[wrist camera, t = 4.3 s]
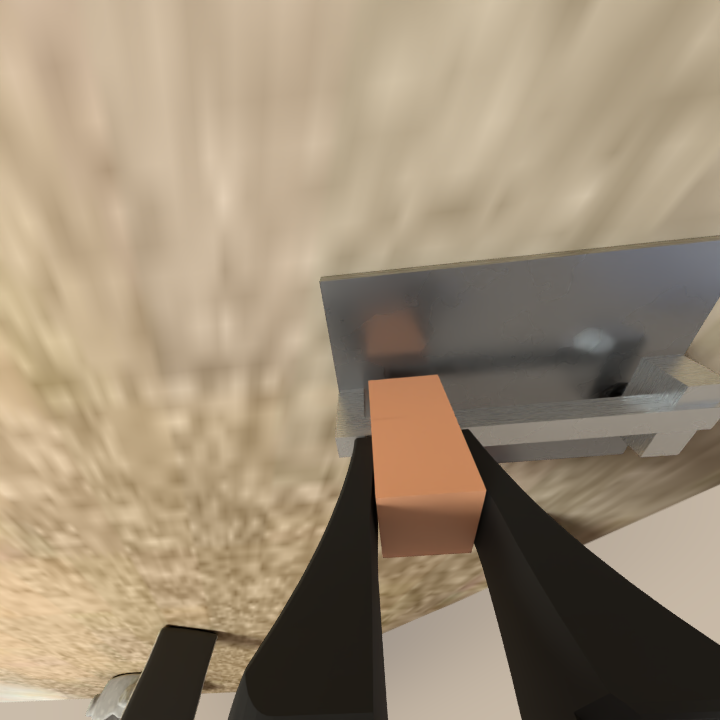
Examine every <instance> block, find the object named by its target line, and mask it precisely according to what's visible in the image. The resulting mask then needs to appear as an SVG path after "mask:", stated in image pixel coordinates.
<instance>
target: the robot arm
mask: <svg viewBox="0 0 720 720" xmlns="http://www.w3.org/2000/svg"><path fill="white" fill-rule="evenodd" d="M461 431H462V433H463V436H464V438H465V440H466V443H467V445H468V448H469V450H470V452H471V455H472V457H473V459H474V462H475V464H476V467H477V469H478V471H479V474H480V476H481V479H482V481H483V483H484V486H485V488H486V490H487V491H486V495H485V499H484V503H483V507H482V511H481V515H480V519H479V523H478V527H477V531H476V536H475V540H474V544H475V547H476V549H477V552H478V555H479V558H480V561H481V564H482V567H483V570H484V574H485V578H486V581H487V585H488V588H489V592H490V595H491V599H492V602H493V606H494V610H495V614H496V618H497V621H498V625H499V629H500V633H501V636H502V640H503V644H504V648H505V652H506V656H507V660H508V664H509V668H510V672H511V676H512V680H513V684H514V689H515V693H516V697H517V701H518V706H519V710H520V714H521V718H522V720H720V645H719V644H717V643H716V642H714V641H713V640H711V639H710V638H708V637H707V636H705V635H704V634H703V633H701V632H699V631H698V630H697V629H695V628H694V627H692V626H691V625H689V624H688V623H686V622H685V621H683V620H682V619H681V618H679V617H677V616H676V615H675V614H673V613H672V612H671V611H669V610H668V609H666V608H665V607H663V606H662V605H661V604H659V603H658V602H657V601H655V600H653V599H652V598H651V597H650V596H648V595H647V594H646V593H644V592H643V591H641V590H640V589H639V588H637V587H636V586H635V585H633V584H632V583H630V582H629V581H628V580H627V579H625V578H624V577H623V576H622V575H620V574H619V573H618V572H616V571H615V570H614V569H613V568H611V567H610V566H609V565H607V564H606V563H605V562H603V561H602V560H601V559H600V558H599V557H597V556H596V555H595V554H593V553H592V552H591V551H590V550H588V549H587V548H586V547H585V546H584V545H582V544H581V543H580V542H579V541H578V540H577V539H575V538H574V537H573V536H572V535H571V534H569V533H568V532H567V531H566V530H565V529H564V528H563V527H561V526H560V525H559V524H558V523H557V522H556V521H555V520H554V519H552V518H551V517H550V516H549V515H548V514H547V513H546V512H545V511H544V510H543V509H542V508H541V507H540V506H539V505H538V504H536V503H535V502H534V501H533V500H532V499H531V498H530V497H529V496H528V495H527V494H526V493H525V492H524V491H523V490H522V489H521V488H520V487H519V486H518V485H517V483H516V482H515V481H514V480H513V479H512V478H511V477H510V476H509V475H508V474H507V473H506V472H505V471H504V470H503V469H502V467H501V466H500V465H499V464H498V463H497V462H496V461H495V460H494V458H493V457H492V456H491V455H490V454H489V453H488V452H487V450H486V449H485V448H484V447H483V446H482V444H481V443H480V442H479V441H478V440H477V438H476V437H475V436H474V435H473V433H472V432H471V431H470V430H469V429H462V430H461ZM228 720H388V714H387V702H386V686H385V672H384V657H383V642H382V627H381V612H380V597H379V581H378V513H377V505H376V496H375V480H374V464H373V448H372V437H362V438H356V439H355V440H354V448H353V453H352V457H351V461H350V465H349V468H348V472H347V475H346V478H345V481H344V484H343V487H342V490H341V493H340V496H339V498H338V501H337V503H336V506H335V508H334V511H333V514H332V516H331V518H330V521H329V523H328V525H327V528H326V530H325V532H324V534H323V536H322V538H321V541H320V543H319V545H318V547H317V549H316V551H315V553H314V555H313V557H312V559H311V561H310V563H309V564H308V566H307V568H306V570H305V572H304V574H303V576H302V578H301V579H300V581H299V583H298V585H297V587H296V588H295V590H294V592H293V593H292V595H291V597H290V598H289V600H288V602H287V604H286V605H285V607H284V609H283V610H282V612H281V614H280V616H279V617H278V619H277V620H276V622H275V624H274V625H273V627H272V628H271V630H270V631H269V633H268V635H267V636H266V638H265V639H264V641H263V642H262V644H261V645H260V647H259V648H258V650H257V652H256V653H255V655H254V656H253V658H252V659H251V661H250V662H249V664H248V665H247V667H246V669H245V671H244V674H243V676H242V679H241V681H240V684H239V687H238V689H237V692H236V695H235V698H234V701H233V704H232V708H231V711H230V714H229V717H228Z"/></svg>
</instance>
